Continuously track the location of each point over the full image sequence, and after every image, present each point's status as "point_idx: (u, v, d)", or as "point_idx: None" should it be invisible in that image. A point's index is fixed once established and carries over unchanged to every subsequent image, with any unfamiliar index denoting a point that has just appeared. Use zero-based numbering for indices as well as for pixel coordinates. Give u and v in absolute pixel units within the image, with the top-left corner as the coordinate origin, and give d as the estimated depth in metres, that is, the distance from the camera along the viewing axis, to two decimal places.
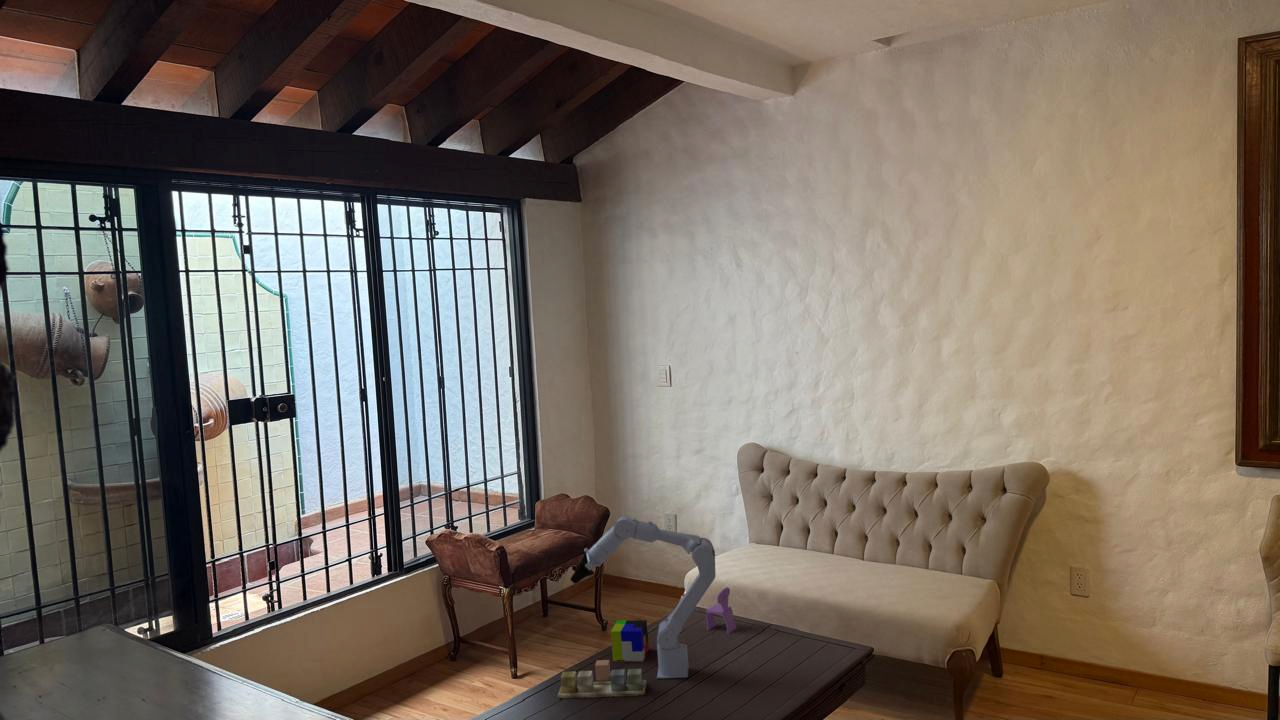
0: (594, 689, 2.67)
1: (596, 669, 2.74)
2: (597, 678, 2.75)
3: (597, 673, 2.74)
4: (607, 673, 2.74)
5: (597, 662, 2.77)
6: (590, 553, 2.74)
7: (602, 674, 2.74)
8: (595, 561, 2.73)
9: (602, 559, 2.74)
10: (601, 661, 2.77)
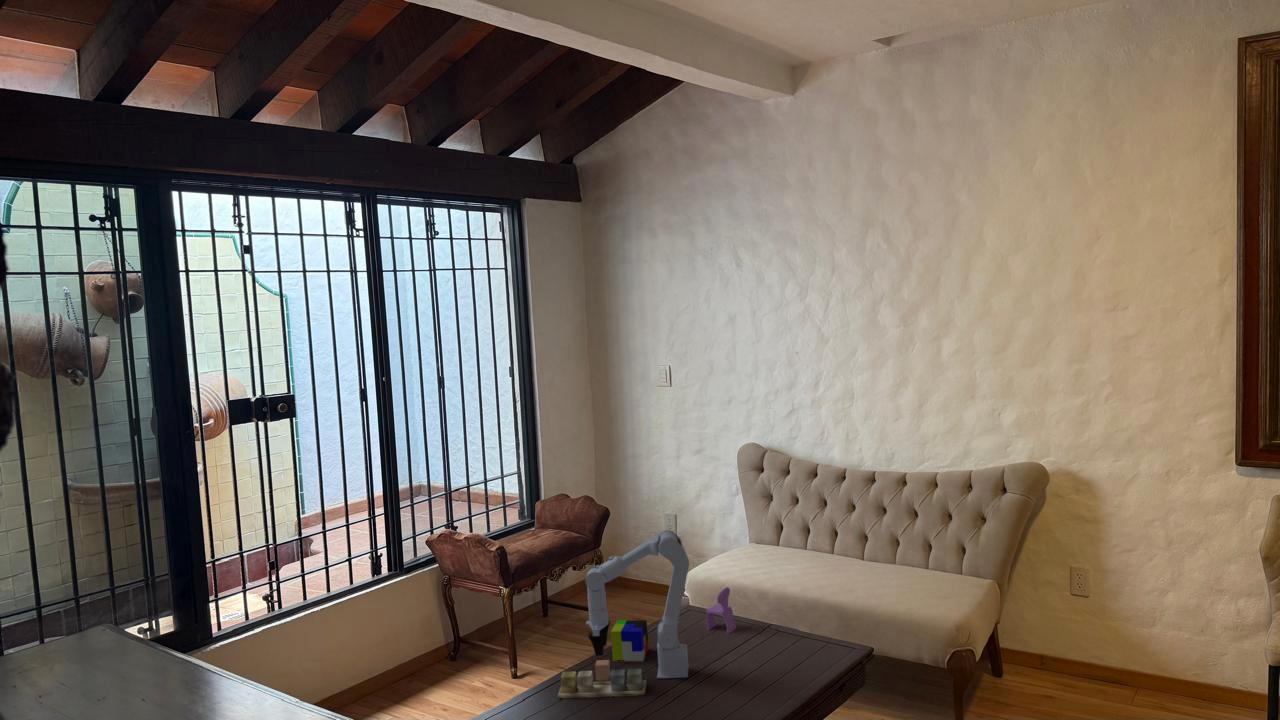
0: (594, 689, 2.67)
1: (596, 669, 2.74)
2: (597, 678, 2.75)
3: (597, 673, 2.74)
4: (607, 673, 2.74)
5: (597, 662, 2.77)
6: (591, 622, 2.74)
7: (602, 674, 2.74)
8: (600, 624, 2.73)
9: (603, 617, 2.73)
10: (601, 661, 2.77)
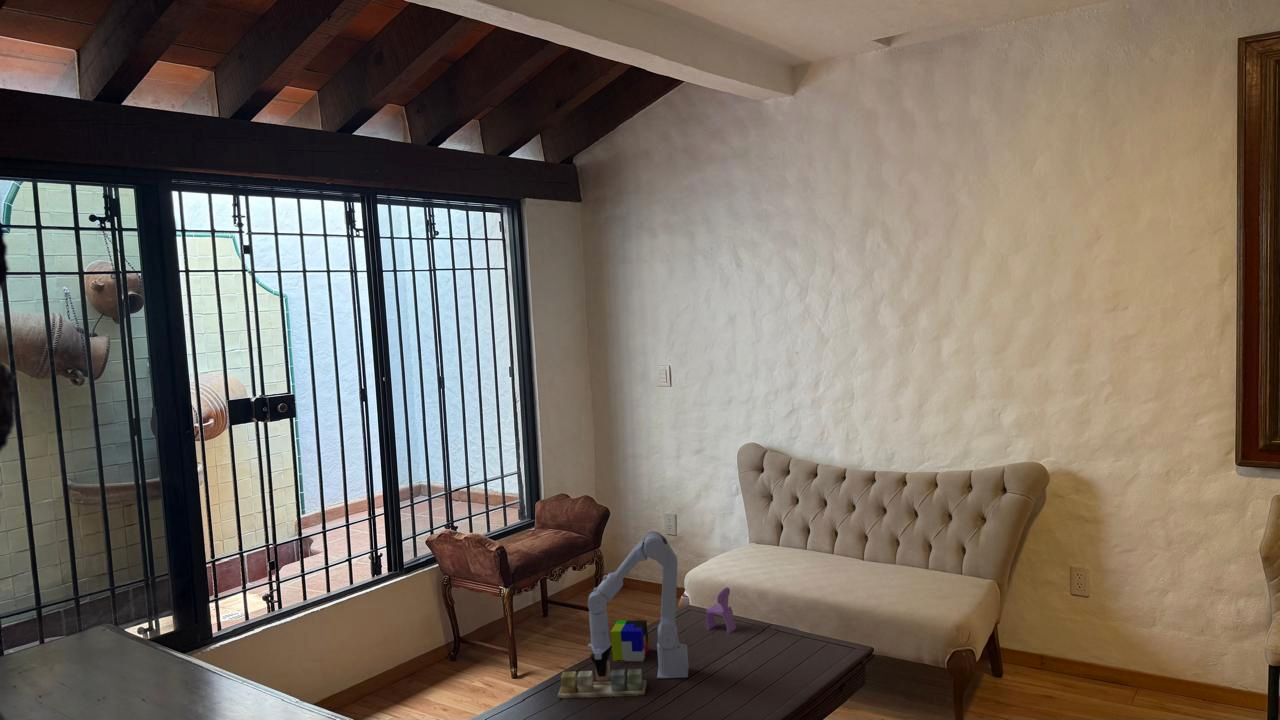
0: (594, 689, 2.67)
1: None
2: (597, 678, 2.75)
3: (597, 673, 2.74)
4: (607, 673, 2.74)
5: None
6: (593, 645, 2.74)
7: None
8: (602, 647, 2.73)
9: (605, 640, 2.74)
10: None
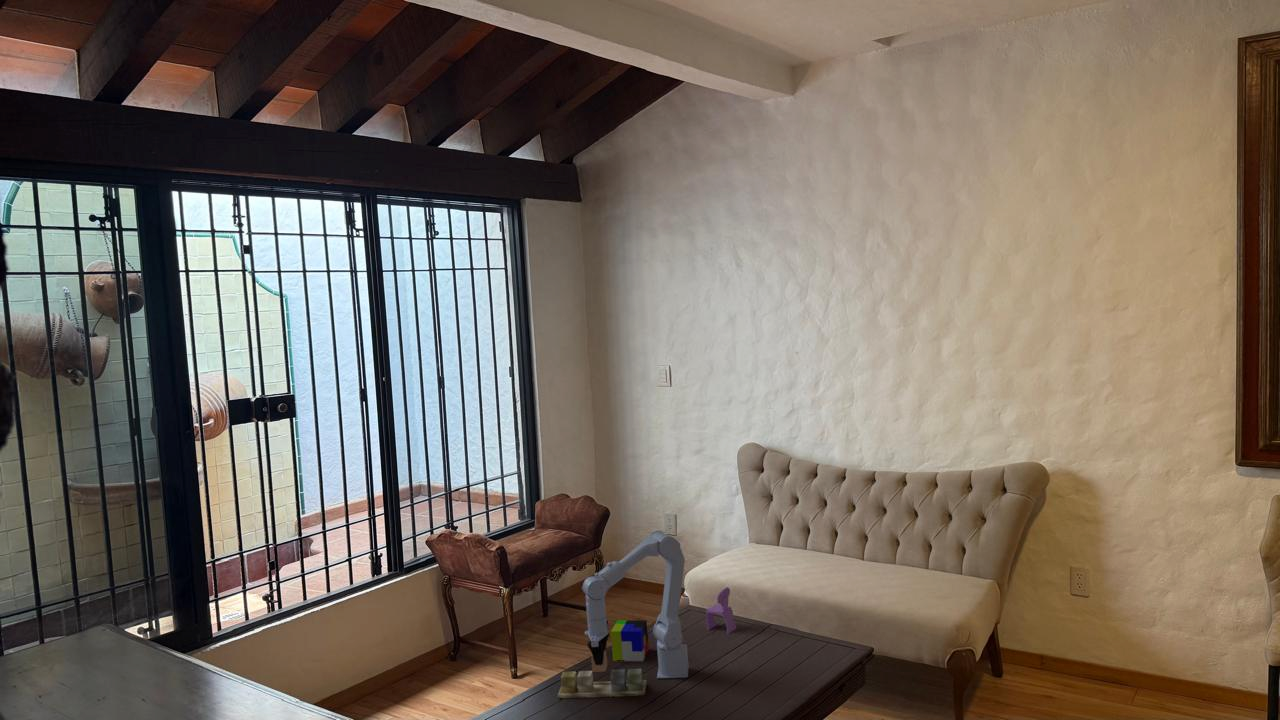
0: (594, 689, 2.67)
1: (592, 659, 2.65)
2: (593, 669, 2.65)
3: (593, 663, 2.65)
4: (603, 663, 2.65)
5: None
6: (590, 632, 2.65)
7: (598, 665, 2.65)
8: (599, 634, 2.64)
9: (602, 627, 2.64)
10: None
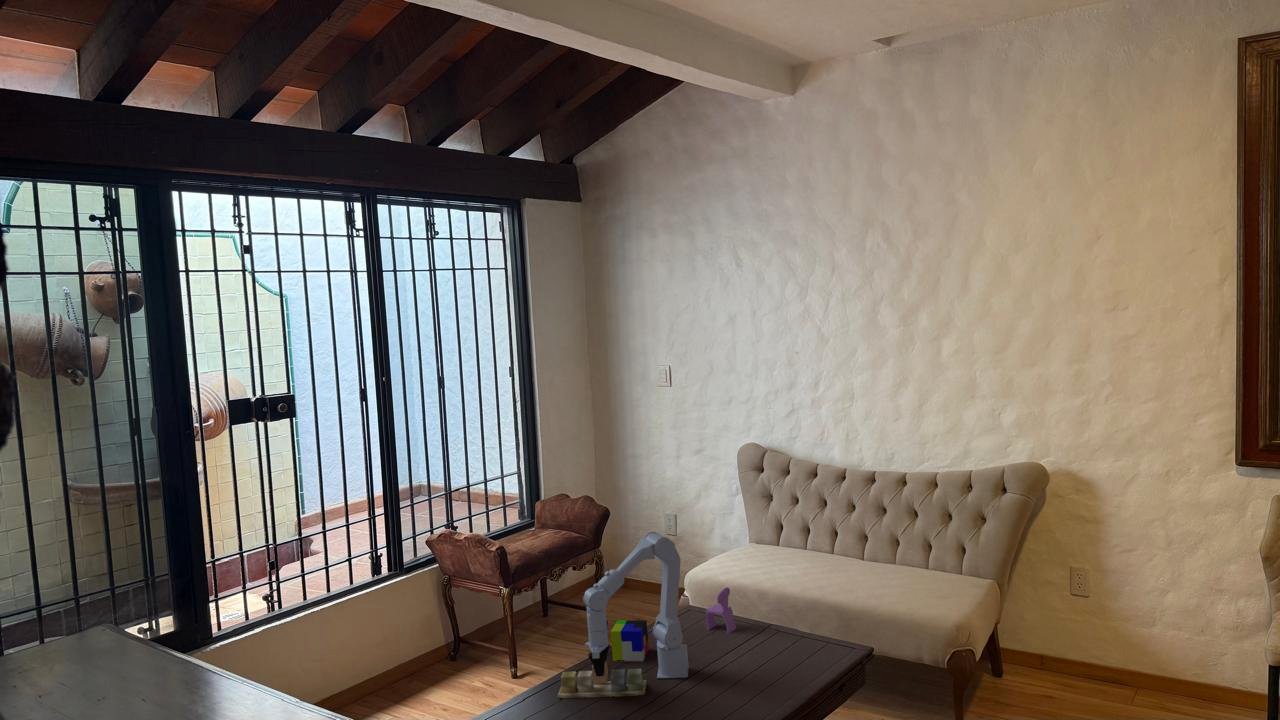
0: (594, 689, 2.67)
1: (593, 671, 2.65)
2: (594, 680, 2.65)
3: (594, 675, 2.65)
4: (604, 675, 2.64)
5: None
6: (591, 643, 2.64)
7: (599, 676, 2.65)
8: (600, 646, 2.63)
9: (603, 639, 2.64)
10: None
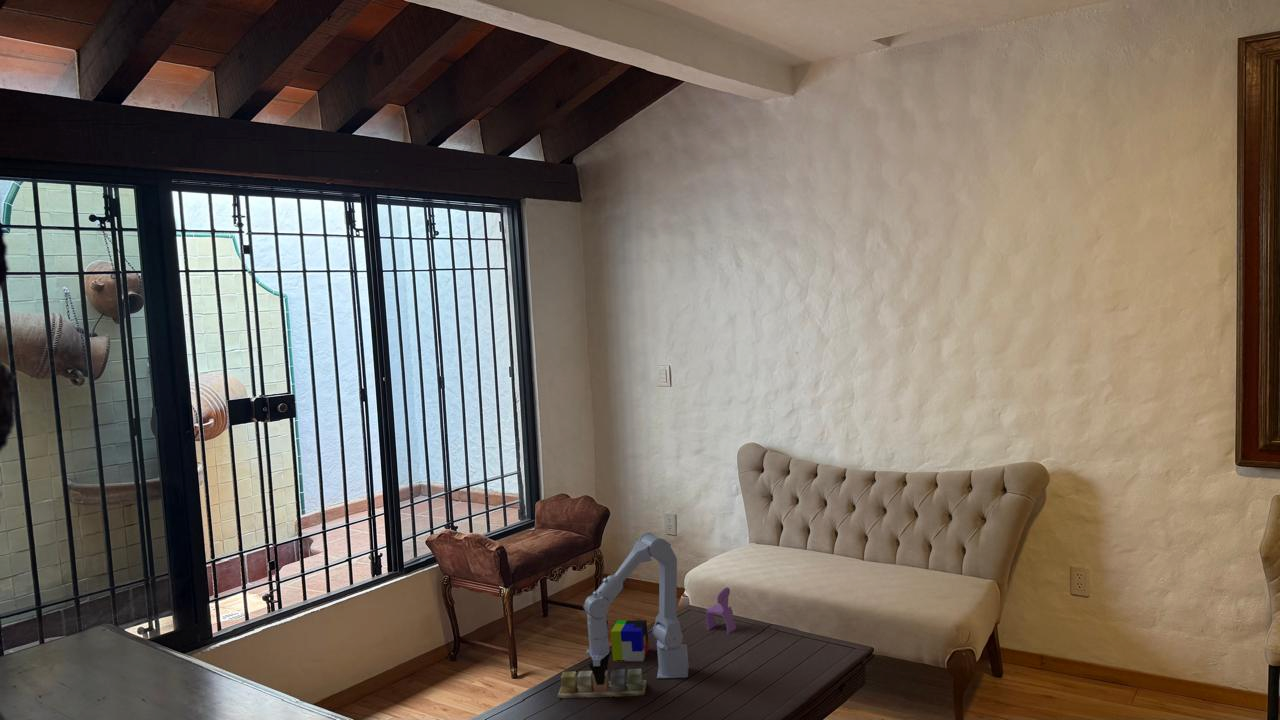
0: None
1: (594, 680, 2.65)
2: (595, 689, 2.65)
3: (595, 684, 2.65)
4: (605, 684, 2.65)
5: None
6: (591, 651, 2.64)
7: (600, 685, 2.65)
8: (600, 653, 2.63)
9: (604, 646, 2.64)
10: None
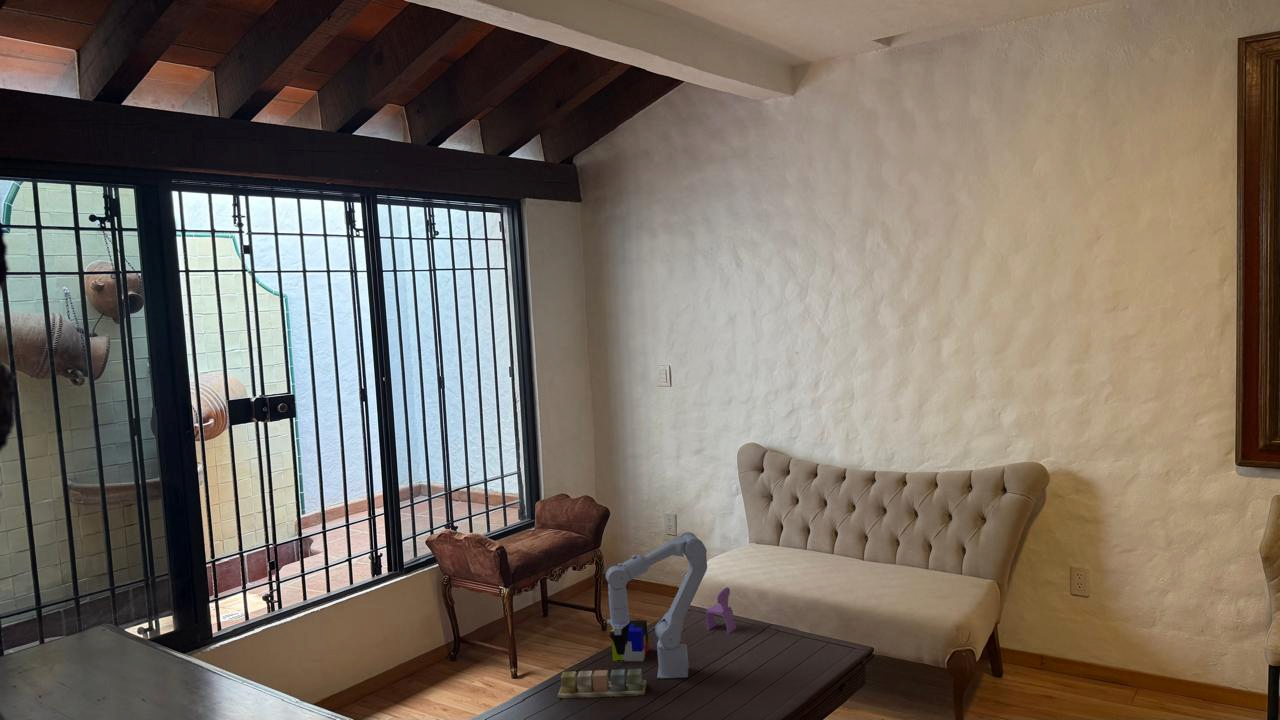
0: None
1: (594, 680, 2.65)
2: (595, 689, 2.65)
3: (595, 684, 2.65)
4: (605, 684, 2.65)
5: (595, 672, 2.67)
6: (612, 621, 2.70)
7: (600, 685, 2.65)
8: (621, 623, 2.69)
9: (625, 616, 2.70)
10: (599, 671, 2.68)
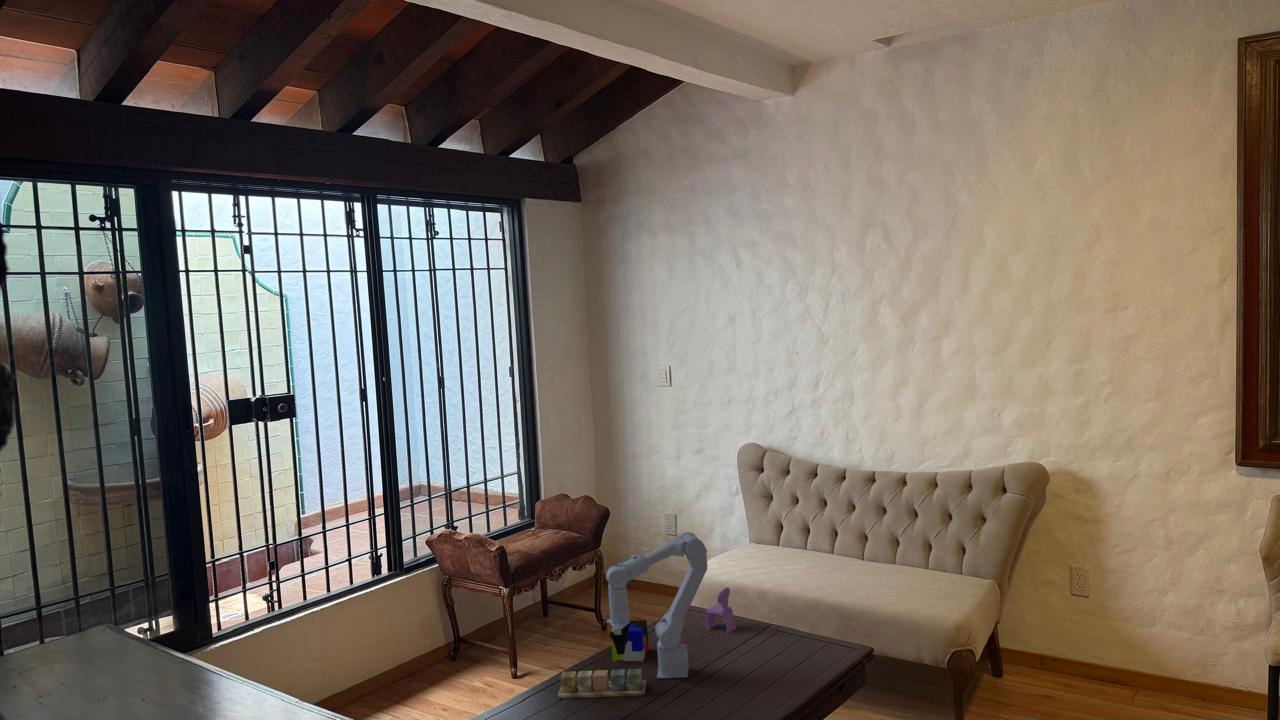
0: None
1: (594, 680, 2.65)
2: (595, 689, 2.65)
3: (595, 684, 2.65)
4: (605, 684, 2.65)
5: (595, 672, 2.67)
6: (612, 620, 2.70)
7: (600, 685, 2.65)
8: (621, 622, 2.69)
9: (625, 616, 2.70)
10: (599, 671, 2.68)
